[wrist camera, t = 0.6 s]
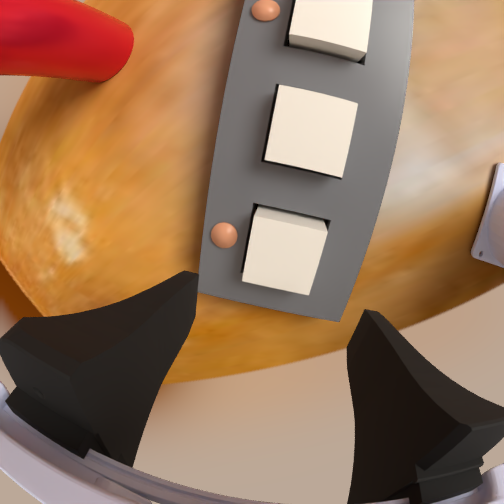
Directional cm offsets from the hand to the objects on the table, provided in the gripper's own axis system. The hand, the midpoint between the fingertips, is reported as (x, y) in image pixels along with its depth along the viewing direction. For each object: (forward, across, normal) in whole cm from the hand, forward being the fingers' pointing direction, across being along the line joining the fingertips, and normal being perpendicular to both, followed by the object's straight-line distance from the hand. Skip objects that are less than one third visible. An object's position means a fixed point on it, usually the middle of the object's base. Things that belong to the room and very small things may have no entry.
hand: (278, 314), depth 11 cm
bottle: (+10, +16, -12) cm, 22 cm away
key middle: (+9, 0, -7) cm, 12 cm away
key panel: (+9, 0, -7) cm, 12 cm away
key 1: (+9, 0, -14) cm, 17 cm away
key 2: (+9, 0, 0) cm, 9 cm away
